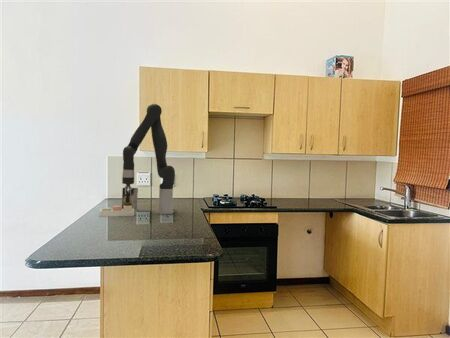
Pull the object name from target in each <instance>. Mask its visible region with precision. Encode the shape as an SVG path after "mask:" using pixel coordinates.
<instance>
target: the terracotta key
mask: <svg viewBox="0 0 450 338" xmlns="http://www.w3.org/2000/svg"><path fill="white" fill-rule="evenodd" d="M112 209H113V211H121V210H122V205H113V206H112Z"/></svg>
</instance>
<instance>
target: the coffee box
mask: <svg viewBox="0 0 450 338" xmlns="http://www.w3.org/2000/svg"><path fill="white" fill-rule="evenodd" d="M121 189H122V192H121V193H122V195H121V197H122V199H121V206H122V209H123V206H132V209H134V212H135V211H137V210H138V197H139V195H138V194H139V193H138V191H139V188H138V187H131V194H130V197H129V203H126V195H125V187H122V188H121Z"/></svg>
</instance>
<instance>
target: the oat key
mask: <svg viewBox="0 0 450 338" xmlns="http://www.w3.org/2000/svg"><path fill="white" fill-rule="evenodd" d="M123 210H132V206H123Z"/></svg>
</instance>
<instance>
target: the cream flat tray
mask: <svg viewBox="0 0 450 338" xmlns="http://www.w3.org/2000/svg"><path fill="white" fill-rule="evenodd" d="M134 216H135V211H134V209H132V210H123V209H122V210H121V211H113V208H111V211H102V208H100V209H99V217H100V218H103V217H106V218H107V217H134Z"/></svg>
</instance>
